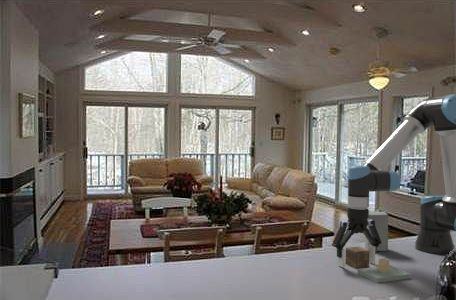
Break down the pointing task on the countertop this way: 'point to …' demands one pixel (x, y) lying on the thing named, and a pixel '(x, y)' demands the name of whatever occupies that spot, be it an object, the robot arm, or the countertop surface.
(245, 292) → the countertop surface
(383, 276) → the pale green flat panel
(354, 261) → the cardboard shipping box
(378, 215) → the skincare box
